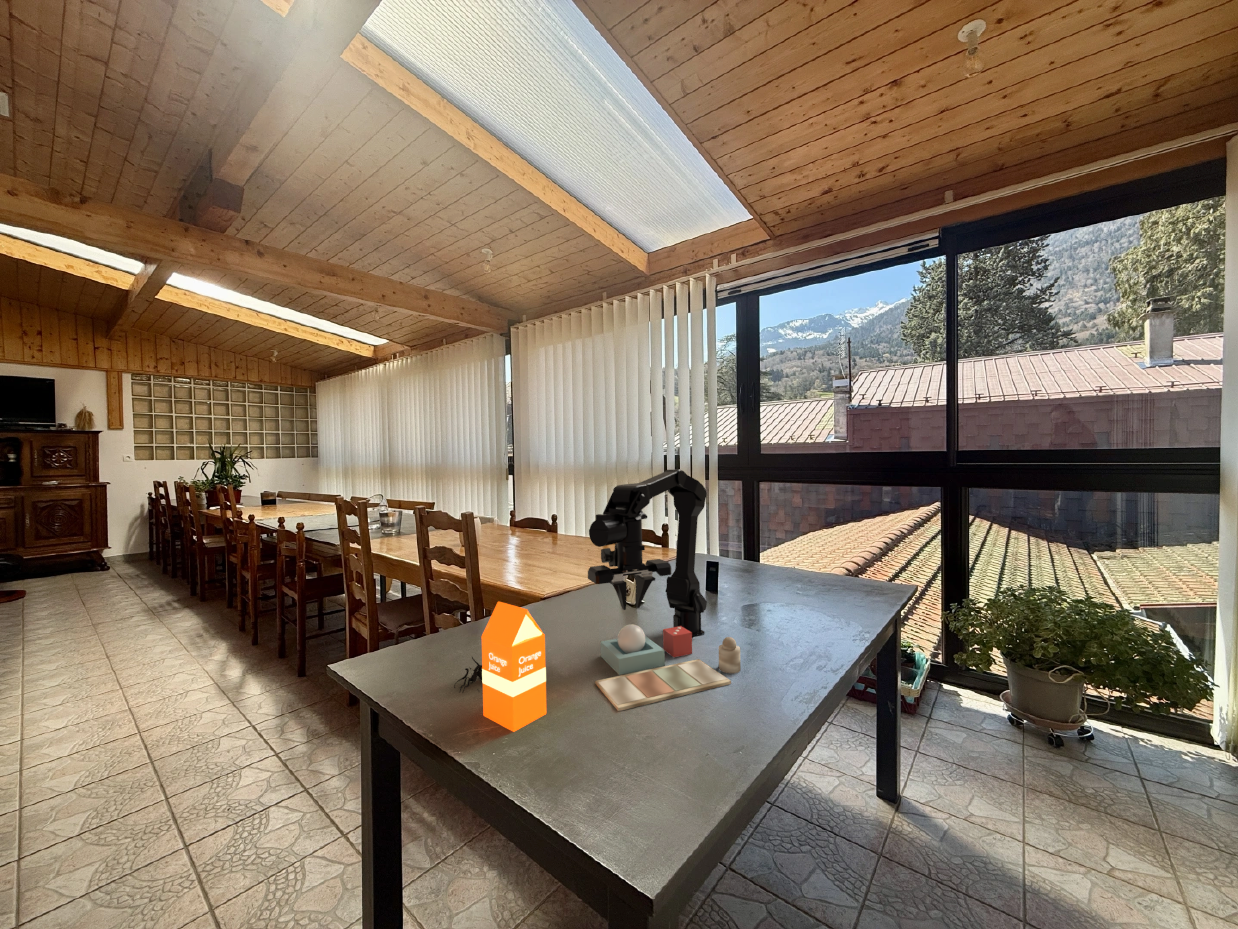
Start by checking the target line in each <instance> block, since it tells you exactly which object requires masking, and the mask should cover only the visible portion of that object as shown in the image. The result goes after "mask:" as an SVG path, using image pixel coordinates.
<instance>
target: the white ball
mask: <svg viewBox="0 0 1238 929" xmlns="http://www.w3.org/2000/svg"><path fill="white" fill-rule="evenodd" d="M645 636H646V635H645V632H644V630H643V628H642V627H640V626H639V625H637V624H632V623H631V624H626V625H624V626H623V627H622V628H621V629H620V630H619V632H618V634H617V638H616V639H617V640H618V645H619V647H620V648H621V650H622V651H624V652H625V653H627V654H629V653H634V652H639V651H641V650H642V649H643V647H644V645H645Z"/></svg>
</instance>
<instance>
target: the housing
mask: <svg viewBox="0 0 1238 929" xmlns="http://www.w3.org/2000/svg"><path fill="white" fill-rule="evenodd" d="M599 645H600V657H601V658H602V659H603V661H605V662H606V664H608V666H610V668H612V670H614V672H616V673H617V675H618V676H621V675H626V674H630V673H635V672H640V671H645V670H649V669H654V668H659V667H664V666H666V664H665V662H666V660H665V651H664V649H663V647H661V646H660V645H658V644H657V643H655V642H654V641H653V640H651V639H650V638H649V637H648V636H646V635H645V645H644V647H643V649H642V650H641V651H639V652H634V653H629V654H627V653H625V652H624V651H622V650H621V648H620V647H619V645H618V640H617V638H611V639H607V640H602V641H600V644H599Z"/></svg>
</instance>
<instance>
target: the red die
mask: <svg viewBox="0 0 1238 929" xmlns="http://www.w3.org/2000/svg"><path fill="white" fill-rule="evenodd" d="M662 649H664V652H665V653H667V654H668V655H669V656H671V657H672V658H678V657H681V656H682V657H683V656H688V655H692V654H693V636H692V632H690V631H688V630H687V629H685V628H683V627H682V626H678V627H673V626H672V627H668V628H663V629H662Z"/></svg>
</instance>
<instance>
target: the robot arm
mask: <svg viewBox="0 0 1238 929" xmlns="http://www.w3.org/2000/svg"><path fill="white" fill-rule="evenodd" d="M665 492H668V494H670V496H672V497H673V506H674V509H675V510H676V512H677V514H678V524H677V540H676V554H675V567H674V571H673V572H672V565H671V563H669V561H666V560H663V559H661V558H657V559H656V558H655V559H647V560H646V562H645V563H643V551H646V549H645V547H646V546H645V545H643V527H642V526H643V523H642V522H643V521H642V520H646V519H648V515H647V514H646V513H645V512H644V511H643V509H645V508H646V507H647V506H648V505H649V504H650V502H651V500H652V499H653V498H655V497H657V496H659V495H661V494H663V493H665ZM707 495H708V493H707V489H706V487H705V486H704V485H703V484H702V482H700V481H699V480H697V479H696V478H694V477H692V476H690V475H689V474H687V473H686V472H685V471H684V470H681V469H667V470H664V471H663V472H661V473H659V474H656V475H654V476H652V477H649V478H647V479H645V480H643V481H640V482H636V483H635V482H634V483H624V484H618V485H616V486H614V488H613V489H612V492H611V495H610V497H609V499H608V501H607V504H606V506H605V508H604V510H603V513H602V514H596V515H595V520H594V521H592V522H591V524H590V527H589V529H588V536H589V539H590V541H591V543H592V544H593V545H594V546H596V547H597V548H600V547H605V548H602V549H600V559H601V563H603V564H602V565H596V566H595V565H593V566H590V567H589V568H588V570H587V580H589V581H590V582H592V583H593V584H596V585H604V584H610V585H612V587H613V588H614V590H615V592H616V595H617V598H618V600H619V603H620V607H621V609H622V610H623V611H625V610H626V609H627V595H628V594H627V593H628V592H627V590H628V588H627V584H628V583H627V581H625V580H624V577H625V576H633V578H634V581H635V597H634V598H635V608H636V609H640V607H641V605H642V602H643V600H644V598H645V596H646V593H647V592H648V589H649V588H650V586H651V585H652V582H654V581H656V577H654V576H653V573H656V574H657V575H658V576H659V577H665V576H667V578H666V588H665V593H666V594H665V595H666V598H667V601H668V606H669V608H670V609H674V614H673V616H672V617H673V619H672V624H673V626H672V628H673V627H678V626H682V627H683V628H685V629H687V630H688V631H690V632H692V637H694V636H700V635H704V634H705V633H706V632H705V630H703V629H702V614H703V613H705V611H706V610H707V606H708V605H707V604H708V602H707V600H706V598H705V597H704V596H703V594H702V593H701V586H700V585H701V584H700V581H699V579H698V576H697V575H696V573H695V563H696V549H697V548H696V547H697V533H698V532H697V531H698V518H699V515H700V514H701V512H702V511H703V509H704V508H705V504H706V499H707ZM610 545H614V550H611V548H609V547H607V546H610ZM606 547H607V548H606ZM605 563H606V564H607V563H608V565H607V566H606V565H605ZM612 567H614V568H612Z"/></svg>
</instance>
